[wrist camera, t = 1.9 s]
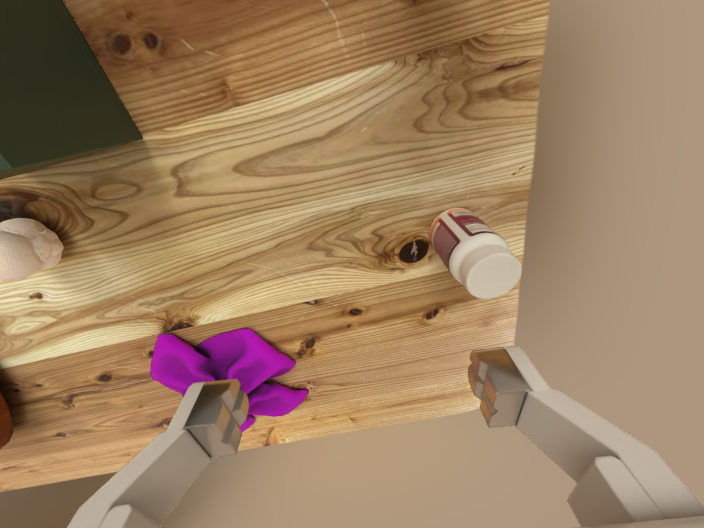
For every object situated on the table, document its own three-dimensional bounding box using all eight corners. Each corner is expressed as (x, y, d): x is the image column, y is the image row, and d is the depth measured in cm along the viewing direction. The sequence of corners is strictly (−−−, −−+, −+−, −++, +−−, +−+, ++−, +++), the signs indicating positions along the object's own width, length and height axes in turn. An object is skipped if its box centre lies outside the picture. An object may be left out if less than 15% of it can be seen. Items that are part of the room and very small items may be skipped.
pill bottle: (444, 259, 29) (479, 313, 22) (418, 228, 27) (448, 276, 20) (485, 231, 27) (538, 279, 20) (461, 195, 25) (511, 235, 18)
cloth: (122, 336, 32) (80, 383, 27) (278, 312, 31) (266, 356, 26) (204, 436, 44) (186, 482, 39) (320, 420, 43) (318, 465, 38)
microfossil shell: (84, 236, 26) (27, 268, 21) (63, 271, 27) (6, 307, 23) (27, 203, 24) (-48, 230, 19) (9, 243, 26) (-65, 276, 21)
